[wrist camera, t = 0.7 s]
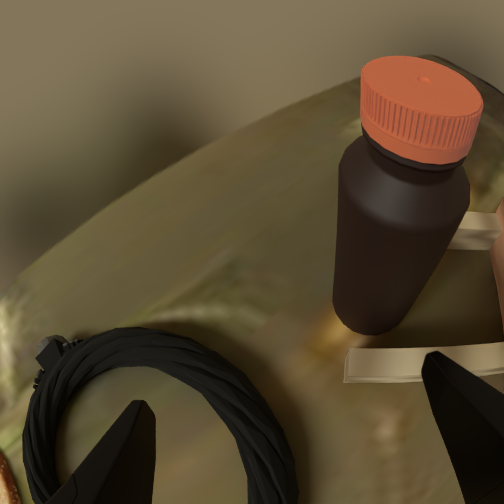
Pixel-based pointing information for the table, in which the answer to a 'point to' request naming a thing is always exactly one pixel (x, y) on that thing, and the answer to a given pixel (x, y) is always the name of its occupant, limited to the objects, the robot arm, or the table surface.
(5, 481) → the bread slice
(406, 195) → the vinegar
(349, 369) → the track
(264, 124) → the table surface
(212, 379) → the cable lock
